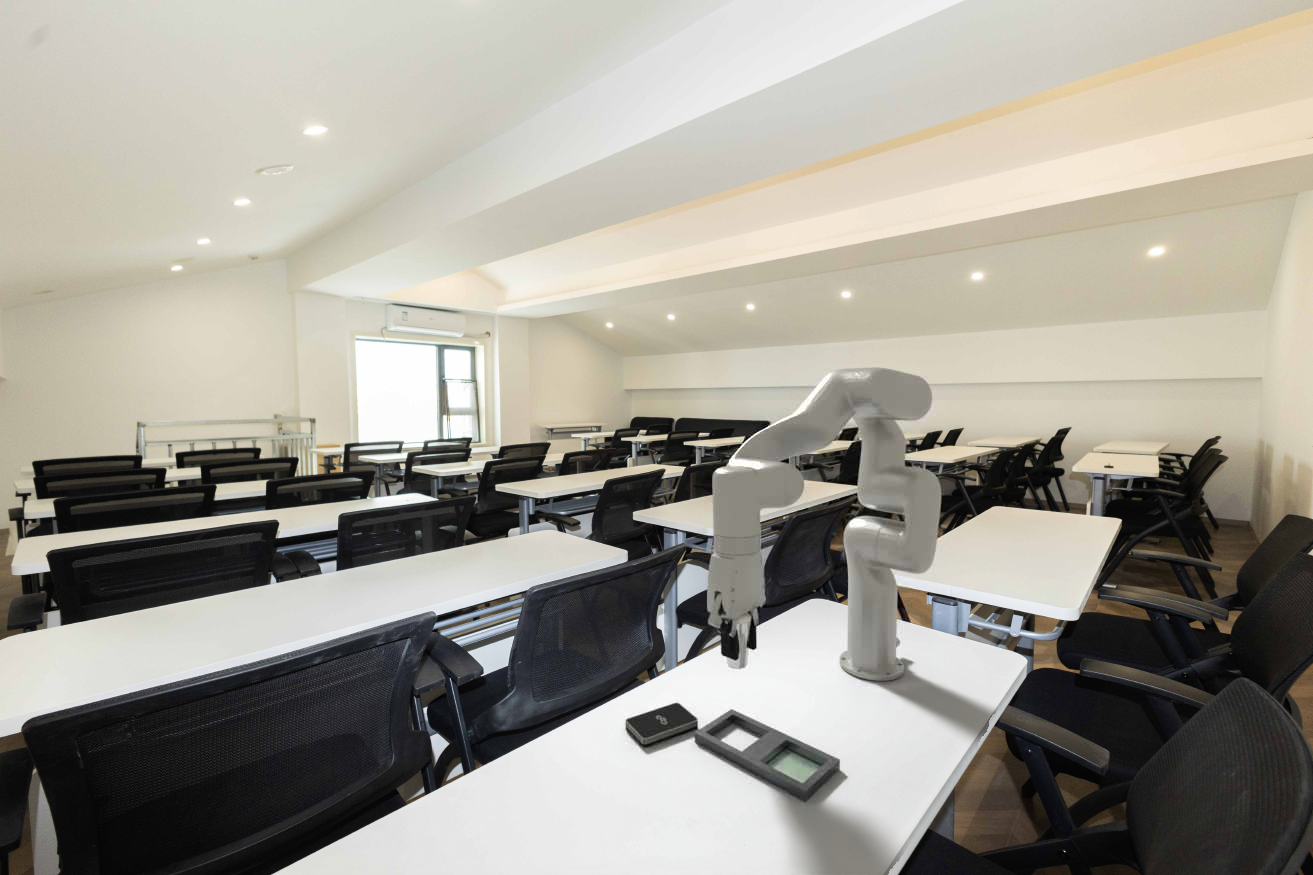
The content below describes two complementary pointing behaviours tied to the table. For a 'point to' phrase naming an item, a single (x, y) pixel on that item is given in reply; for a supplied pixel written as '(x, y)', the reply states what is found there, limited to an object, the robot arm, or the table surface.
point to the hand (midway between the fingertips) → (739, 650)
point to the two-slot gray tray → (772, 755)
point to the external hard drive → (661, 724)
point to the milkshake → (741, 641)
